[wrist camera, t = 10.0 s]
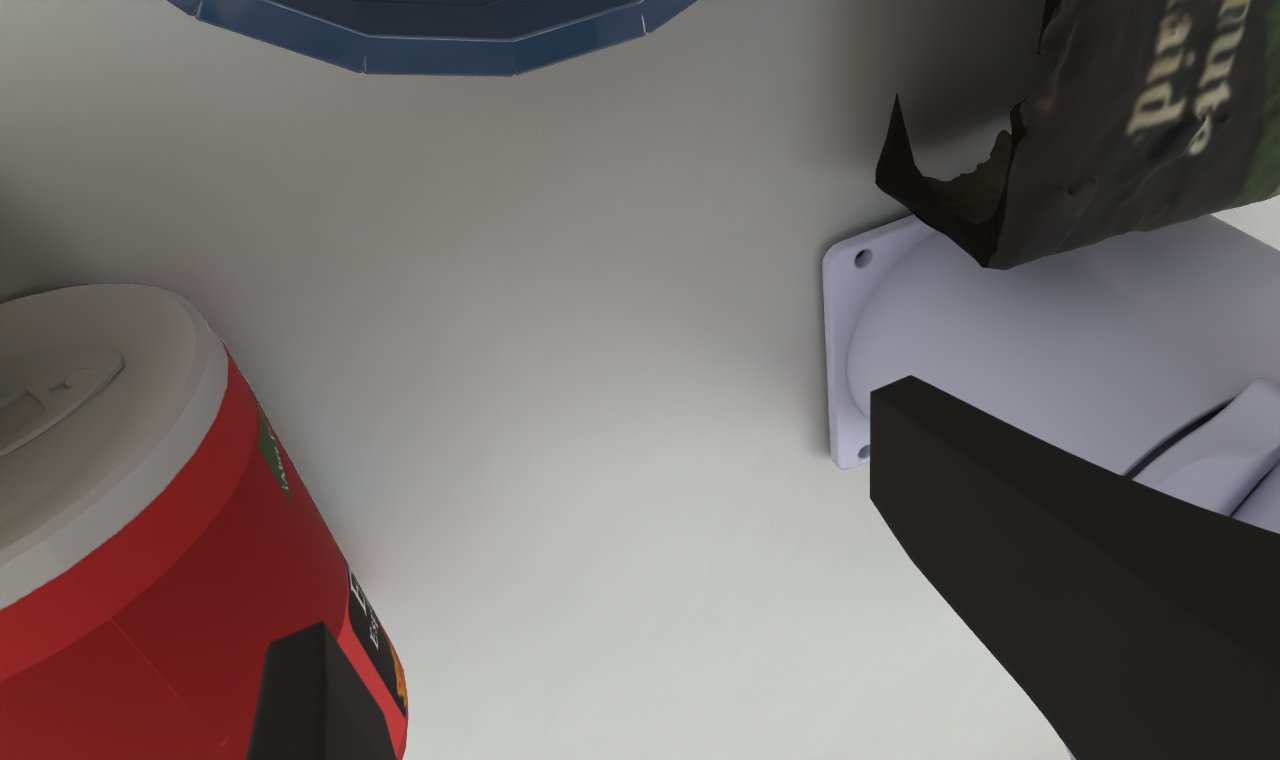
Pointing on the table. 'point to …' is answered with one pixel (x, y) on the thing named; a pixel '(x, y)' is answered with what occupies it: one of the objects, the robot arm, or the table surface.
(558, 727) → the table surface
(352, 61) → the bowl
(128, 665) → the canned food
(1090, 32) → the juice carton
